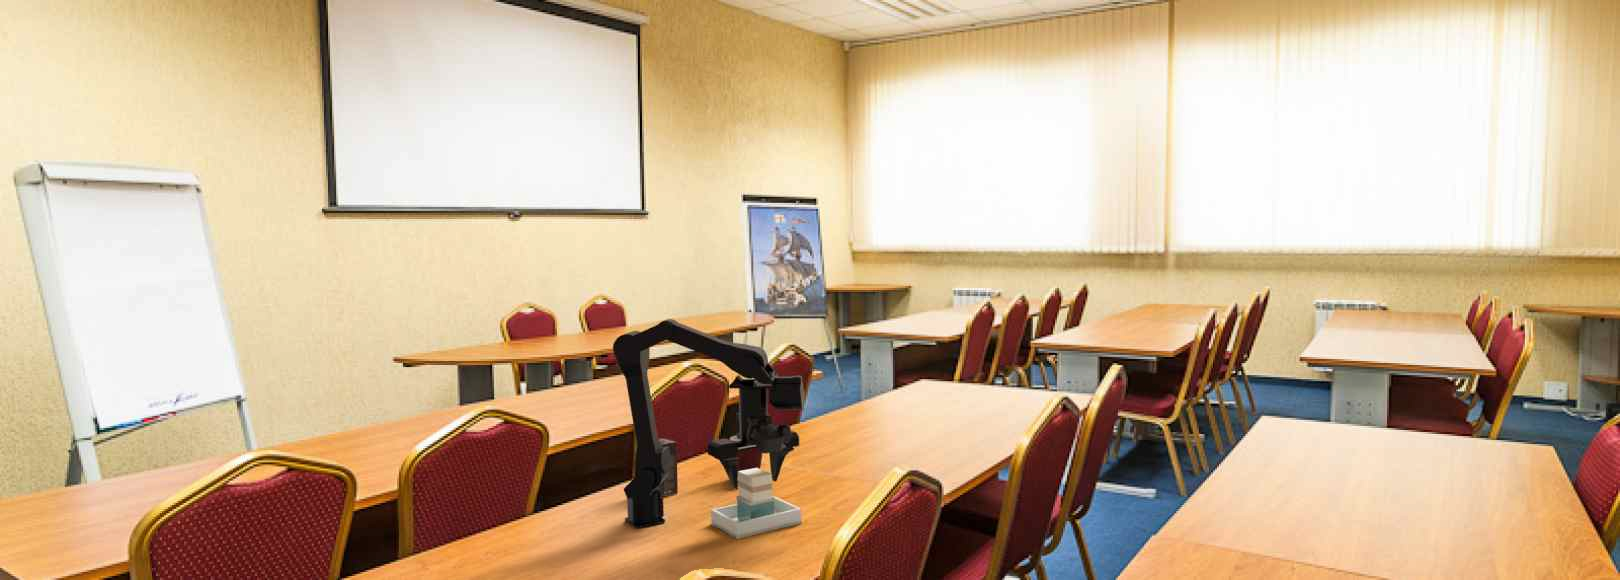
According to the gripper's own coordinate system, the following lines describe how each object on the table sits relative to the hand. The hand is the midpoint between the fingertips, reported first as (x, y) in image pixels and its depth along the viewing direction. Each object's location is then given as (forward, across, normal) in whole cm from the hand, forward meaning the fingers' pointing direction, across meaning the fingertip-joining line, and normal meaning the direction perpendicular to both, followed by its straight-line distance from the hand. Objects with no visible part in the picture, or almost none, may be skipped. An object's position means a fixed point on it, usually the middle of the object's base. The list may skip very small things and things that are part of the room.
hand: (755, 485), depth 180 cm
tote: (+8, 0, 0) cm, 8 cm away
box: (+8, -6, +32) cm, 34 cm away
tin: (+7, 0, 0) cm, 7 cm away
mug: (+8, +14, +29) cm, 33 cm away
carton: (+2, 0, 0) cm, 2 cm away
